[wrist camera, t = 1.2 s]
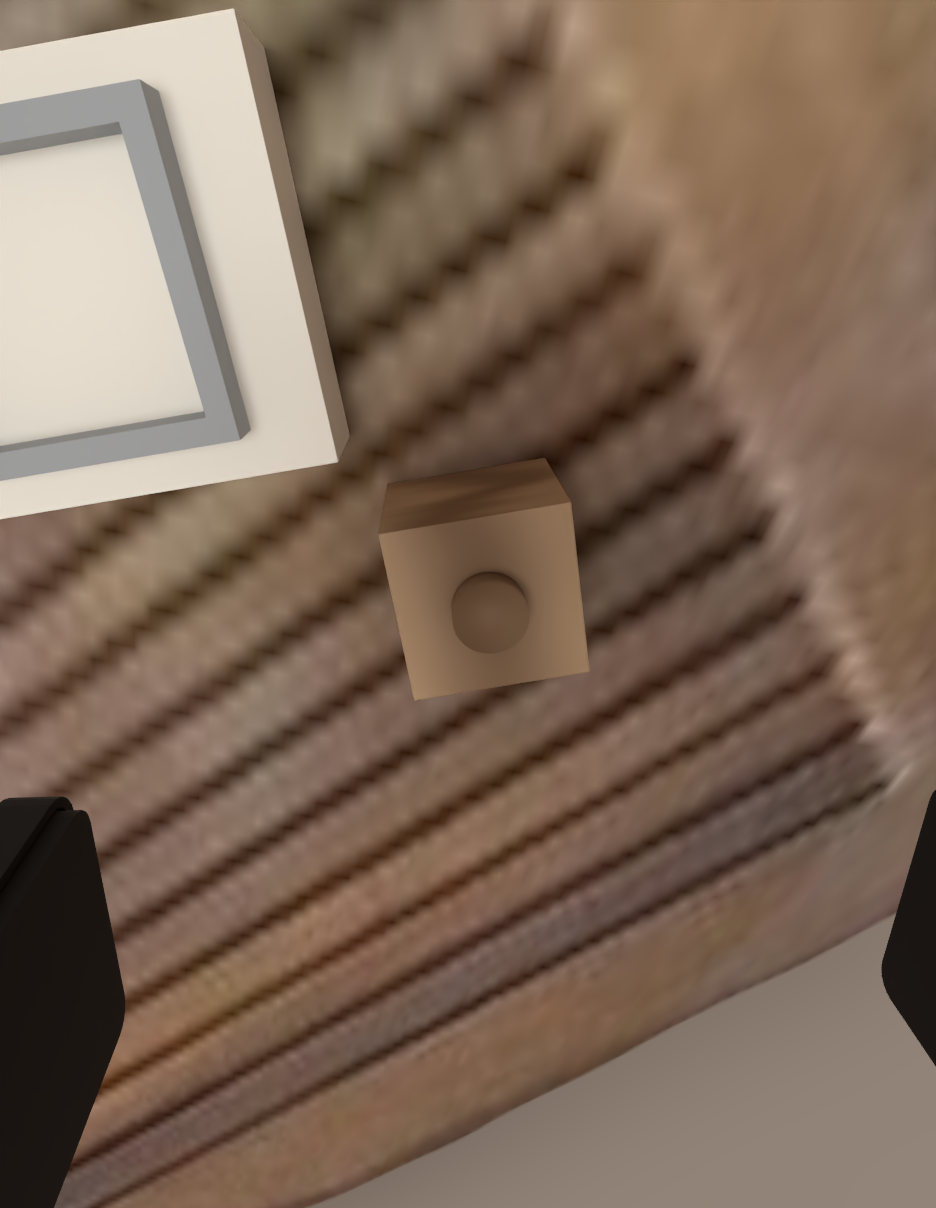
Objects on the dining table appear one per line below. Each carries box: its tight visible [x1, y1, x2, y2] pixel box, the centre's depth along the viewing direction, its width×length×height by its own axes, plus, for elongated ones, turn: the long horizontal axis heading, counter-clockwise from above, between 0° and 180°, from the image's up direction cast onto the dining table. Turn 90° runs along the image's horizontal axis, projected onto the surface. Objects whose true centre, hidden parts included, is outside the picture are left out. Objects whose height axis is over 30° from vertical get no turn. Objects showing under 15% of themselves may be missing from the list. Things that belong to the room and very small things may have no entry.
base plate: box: [0, 8, 350, 519], centre depth 24 cm, size 14×12×6 cm
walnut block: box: [378, 458, 590, 700], centre depth 27 cm, size 6×6×7 cm
